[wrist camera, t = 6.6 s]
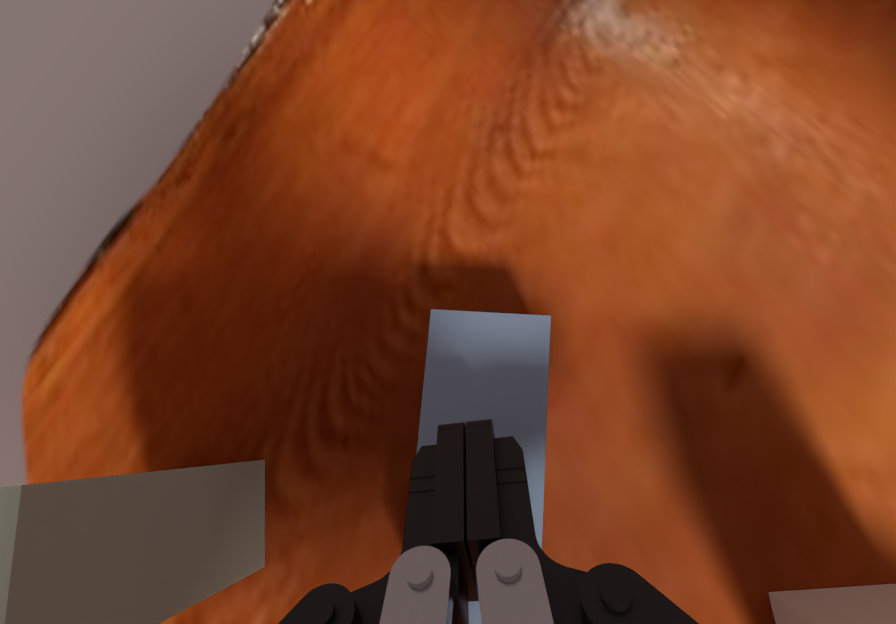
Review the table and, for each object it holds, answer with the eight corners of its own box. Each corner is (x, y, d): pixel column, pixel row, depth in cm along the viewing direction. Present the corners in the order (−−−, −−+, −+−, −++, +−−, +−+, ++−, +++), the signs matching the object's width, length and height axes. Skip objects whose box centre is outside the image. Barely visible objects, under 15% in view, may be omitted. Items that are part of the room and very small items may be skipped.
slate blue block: (532, 612, 17) (543, 338, 19) (537, 664, 13) (550, 315, 16) (422, 596, 18) (447, 333, 20) (397, 641, 14) (430, 309, 16)
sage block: (265, 459, 19) (21, 485, 10) (265, 566, 18) (-7, 711, 9) (175, 469, 20) (-143, 503, 10) (170, 574, 19) (-188, 720, 9)
